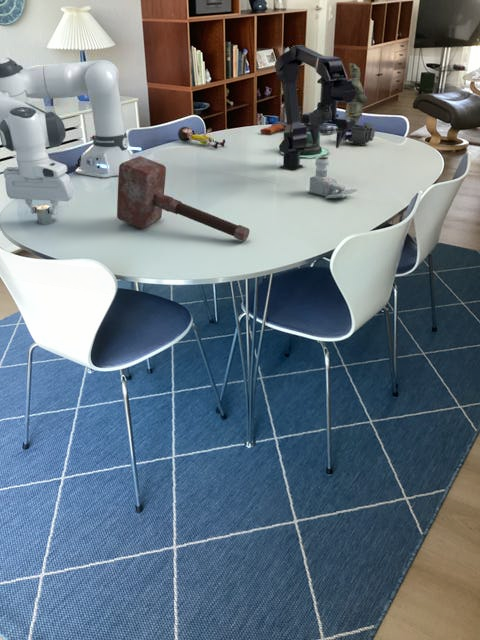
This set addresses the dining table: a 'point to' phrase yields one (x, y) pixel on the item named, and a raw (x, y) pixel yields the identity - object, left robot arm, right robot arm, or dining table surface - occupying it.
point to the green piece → (312, 147)
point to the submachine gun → (282, 125)
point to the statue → (357, 104)
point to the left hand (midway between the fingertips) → (44, 213)
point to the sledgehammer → (158, 199)
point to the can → (44, 214)
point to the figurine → (197, 137)
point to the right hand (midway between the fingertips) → (326, 146)
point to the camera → (326, 182)
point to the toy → (360, 134)
